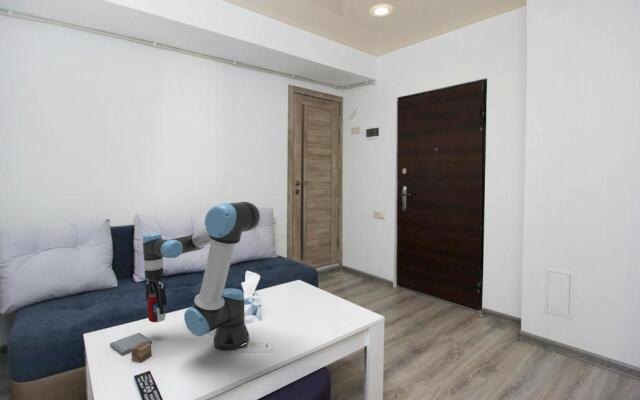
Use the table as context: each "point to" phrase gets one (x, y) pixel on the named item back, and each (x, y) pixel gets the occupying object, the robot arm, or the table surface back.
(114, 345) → the coaster
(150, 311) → the beverage can
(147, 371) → the table surface
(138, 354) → the walnut block
